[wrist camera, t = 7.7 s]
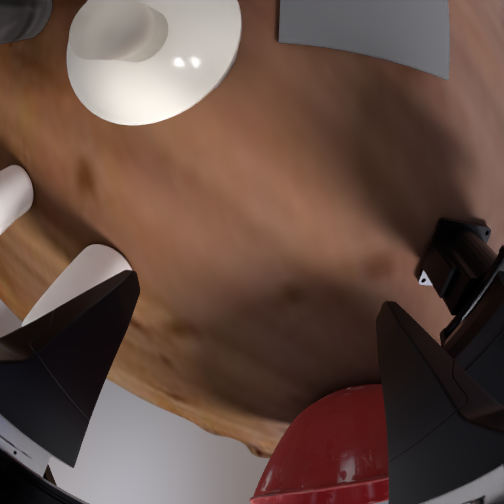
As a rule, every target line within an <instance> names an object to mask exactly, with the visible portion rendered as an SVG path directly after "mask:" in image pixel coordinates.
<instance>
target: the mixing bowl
mask: <svg viewBox="0 0 504 504" xmlns="http://www.w3.org/2000/svg"><path fill="white" fill-rule="evenodd" d="M388 462H389V461H388V445H387V430H386V418H385V408H384V399H383V391H382V384H367V385H359V386H353V387H349V388H345V389H342V390H338V391H336V392H333V393H331V394H329V395H327V396H325V397H323V398H321V399H320V400H318V401H316V402H315V403H313V404H312V405H310V406H308V407H307V408H306V409H304V410H303V411H302V412H301V413H300V414H299V415H298V416H297V417H295V419H294V421H293V422H292V423H291V425H290V426H289V427H288V429H287V430H286V432H285V434H284V435H283V437H282V438H281V440H280V442H279V443H278V445H277V447H276V448H275V450H274V452H273V454H272V456H271V458H270V460H269V462H268V464H267V466H266V468H265V470H264V472H263V475H262V477H261V479H260V481H259V483H258V486H257V488H256V491H255V493H254V496H253V497H252V498H250V500H249V501H250V502H251V503H252V504H373V503H378V502H383V501H386V500H389V472H388Z"/></svg>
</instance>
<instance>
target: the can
mask: <svg viewBox="0 0 504 504" xmlns="http://www.w3.org/2000/svg"><path fill="white" fill-rule="evenodd" d="M124 270H132V268H131V266H130V264H129V263H128V261H127V260H126V259H125V258H124V257H123V256H122V255H121V254H120V253H119V252H118V251H116V250H115V249H113V248H111V247H109V246H105V245H100V244H93V245H90V246H88V247H86V248H85V249H84V250H83V251H82V252H81V253H80V254H79V255H78V256H77V257H76V258H75V259H74V260H73V261H72V262H71V263H70V264H69V266H68V267H67V268H66V269H65V270H64V271H63V272H62V273H61V274H60V276H59V277H58V278H57V279H56V280H55V281H54V282H53V284H52V285H51V286H50V287H49V288H48V290H47V291H46V292H45V293H44V294H43V296H42V297H41V298H40V299H39V301H38V302H37V303H36V304H35V306H34V307H33V308H32V310H31V311H30V312H29V313H28V315H27V316H26V318H25V319H24V321H23V323H22V327H23V326H25V325H27V324H29V323H31V322H33V321H34V320H36V319H38V318H40V317H42V316H43V315H45V314H47V313H49V312H50V311H52V310H54V309H55V308H57V307H59V306H61V305H62V304H64V303H66V302H68V301H69V300H71V299H73V298H75V297H76V296H78V295H80V294H82V293H83V292H85V291H87V290H89V289H91V288H92V287H94V286H96V285H98V284H100V283H102V282H103V281H105V280H107V279H109V278H111V277H113V276H114V275H116V274H118V273H120V272H122V271H124Z"/></svg>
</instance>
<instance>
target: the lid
mask: <svg viewBox="0 0 504 504" xmlns="http://www.w3.org/2000/svg"><path fill="white" fill-rule="evenodd" d="M241 34H242V15H241V10H240V5H239V3H238V0H88V1H87V2H86V3H85V4H84V5H83V6H82V7H81V9H80V10H79V11H78V13H77V14H76V16H75V17H74V19H73V22H72V24H71V27H70V31H69V41H68V46H67V70H68V76H69V79H70V82H71V85H72V88H73V90H74V92H75V94H76V95H77V97H78V98H79V100H80V101H81V102H82V103H83V105H84V106H85V107H86V108H87V109H89V110H90V111H91V112H92V113H93V114H95V115H97V116H98V117H100V118H102V119H104V120H107V121H109V122H113V123H117V124H122V125H144V124H150V123H155V122H158V121H162V120H165V119H168V118H171V117H173V116H176V115H178V114H181V113H182V112H184V111H186V110H188V109H190V108H191V107H193V106H194V105H196V104H197V103H198V102H200V101H201V100H203V99H204V98H205V97H206V96H207V95H208V94H209V93H210V92H212V90H213V89H214V88H215V87H216V86H217V85H218V84H219V83H220V81H221V80H222V79H223V77H224V76H225V75H226V73H227V72H228V70H229V68H230V66H231V65H232V63H233V61H234V59H235V56H236V54H237V51H238V48H239V44H240V40H241Z"/></svg>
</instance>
